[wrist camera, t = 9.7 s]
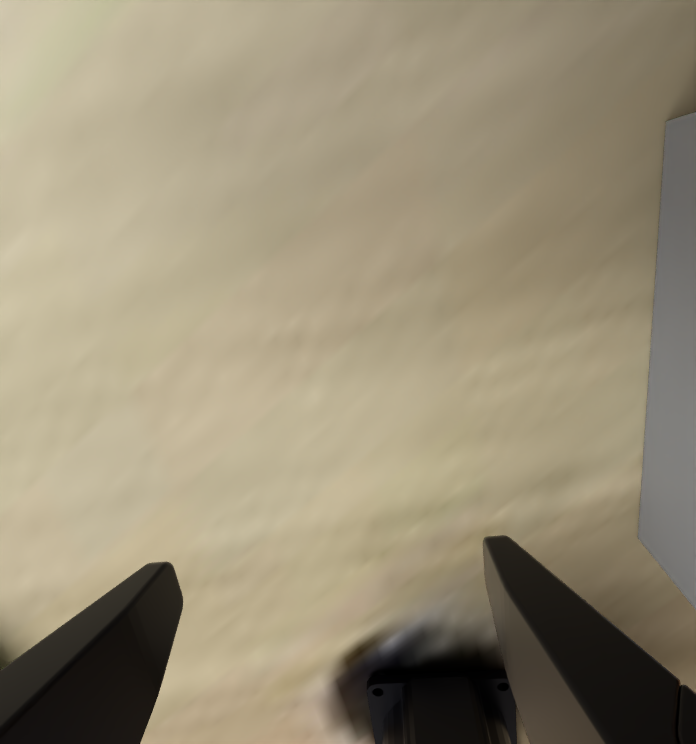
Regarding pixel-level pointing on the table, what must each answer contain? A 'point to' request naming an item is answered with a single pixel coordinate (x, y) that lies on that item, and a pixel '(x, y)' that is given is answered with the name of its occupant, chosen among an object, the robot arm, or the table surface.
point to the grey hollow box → (673, 371)
